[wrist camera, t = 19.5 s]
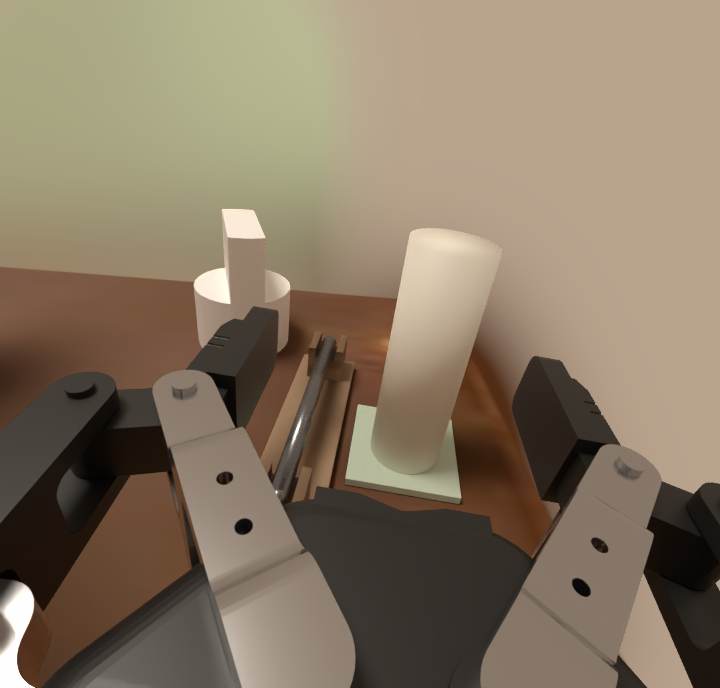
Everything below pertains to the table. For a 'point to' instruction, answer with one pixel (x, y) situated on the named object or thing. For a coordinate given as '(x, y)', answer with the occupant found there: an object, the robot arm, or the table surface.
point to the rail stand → (313, 422)
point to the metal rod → (302, 423)
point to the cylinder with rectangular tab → (240, 280)
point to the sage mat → (374, 475)
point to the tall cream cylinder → (430, 344)
